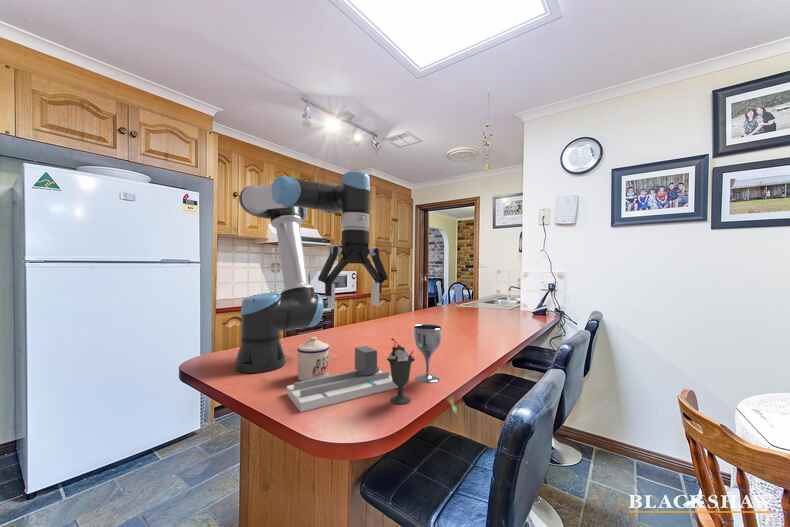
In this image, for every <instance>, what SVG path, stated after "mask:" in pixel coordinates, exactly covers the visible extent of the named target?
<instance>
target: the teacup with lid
mask: <svg viewBox="0 0 790 527" xmlns="http://www.w3.org/2000/svg"><path fill="white" fill-rule="evenodd" d="M330 354H331V352H330V346H329V344H328V343H326V342H323V341H321V340H318V337H317V336H311V337H309V340H307V341H306V342H304V343H301V344H300V345H298V346H297V379H298V380H299V381H305V380H311V379H316V378H321V377H326V376H329V359H330Z"/></svg>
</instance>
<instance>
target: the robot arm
mask: <svg viewBox="0 0 790 527" xmlns="http://www.w3.org/2000/svg"><path fill="white" fill-rule="evenodd" d="M341 182H342V183H340V184H338V185H332V184H326V183H322V182H316V181H310V180H305V179H302V178H297V177H296V178H295V177H293V176H285V175H278V176H277V177H275V178H274V180H273V182H272V183H270V184H265V185H260V184H259V185H257V184H252V185H248V186H246V187H243V189H242V190H241V191H240V192H239V195H238V202H239V205H240V207H241V209H242V210H243V211H244V212H246V213H247V214H248V215H251V216H254V217H257V218H260V219H269V220H270V225H271V227H272V228H274V229H276V230H275V232H276V237H277V243H278V244H277V245H278V252H279V257H280V258H279V259H280V265H281V266H280V267H281V274H282V280H283V290H282V291H281V292H276V291H275V292H264V293H258V294H253V295H249V296H246V297H244V298H243V300H242V302H241V309H240V324H241V325H240V328H241V329H240V339H241V340H240V346H239V349H238V353H237V355H236V358H235V361H234V370H235V371H236V372H239V373H243V374H244V373H245V374H246V373H247V374H250V373H251V374H257V373H258V374H259V373H265V372H271V371H276V370H277V369H280V368H281V367H284V366H285V365H286V355H285V352H284V349H283V346H282V344H281V340H280V339H281V334H280V333H281V332H282V331H289V330H296V329H307V328H310V327H315V326H316V325H317V324H319V323H320V321H321V320H322V317H323V315H324V300H323V297H322V296H321V295H320V294H319V293H315V287H314V286H312V285H311V284H310V282H309V277H308V270H307V264H306V259H305V251H304V247H303V241H302V239H303V238H302V233H301V227H300V226H302V224H303V222H304V220H305V219H306V216H307V209H311V210H317V211H321V212H322V211H323V213H326V214H337V213H342V214H341V228H342V229H343V230H342V231H341V247H338V246H337V245H336V246H330V249H329V255H328V257H327V259H326V261H325V263H324V265H323V267H322V270H321V271H320V273H319V275H318V278H317V279H318V281H319V282H322V283H324V296H326V297H327V308H328V309H331V310H335V309H336V307H335V306H336V304H335V302H336V299H335V298H336V284H335V283H333V282H334V281H335V280H336V279H337V277H338V276H339V275H340V274H341V273H342V271H343V270H344V269H345V267H346V266H347V265H349V264H353V265H354V264H356V265H357V264H361V265H362V266H363V267H364V268H365V270H366V271H367V272H368V274H369V275H370V276H371V278H372V279H373V280H374V281H373V282H371V283H372V284H371V287H372V288H371V292H372V293H371V306H376V307H377V306H380V294H382V284H383V283H385V282H384V281H387V280H388V279H389V278H388V275H387V272H386V269H385V267H384V265H383V263H382V260H381V256H380V253H379V252H380V251H379V248H378V247H372V248H369V244H370V231H369V229H370V212H371V211H370V207H371V206H370V205H371V179H370V176H369V175H368V174H367V173H365V172H362V171H347V172H344V174H343V175H342V181H341ZM340 254H341V255H342V257H341V258H340V260H338V263H337V264H336V266H334V264H335V262H336V261H337V257H338V255H340ZM369 255H370V257H371V260H372V261H371V260H370V259H369V257H368V256H369ZM371 262H373V263H371ZM373 265H374V266H373ZM333 266H334V268H333ZM332 268H333V269H332Z"/></svg>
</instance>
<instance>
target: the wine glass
mask: <svg viewBox="0 0 790 527" xmlns="http://www.w3.org/2000/svg"><path fill="white" fill-rule="evenodd" d="M413 339H414V342H415V343H414V344H415V347H417V349H418V350H419V352H420V353H421V354H422V356H423V357H424V362H425V374H424V373H423V374H418V375H415V377H414V379H415V381H417V382H419V383H424V384H434V383H437V382H440V380H441V379H440V377H439V376H437V375H435V374H430V361H431V357H432V356H433V354H434V353H435V352H436V351H437V350H438V348H439V346H440V343H441V339H442V326H441V325H438V324H432V323H431V324H429V323H424V324H423V323H422V324H415V325H414V326H413Z"/></svg>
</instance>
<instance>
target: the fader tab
mask: <svg viewBox="0 0 790 527" xmlns="http://www.w3.org/2000/svg"><path fill="white" fill-rule="evenodd" d="M377 366H378V350H376V349H375V348H372V347H370V346H368V345H364V346H357V347H354V371H356V370H357V377H362V376H366V375H371V374H375V373H377Z"/></svg>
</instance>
